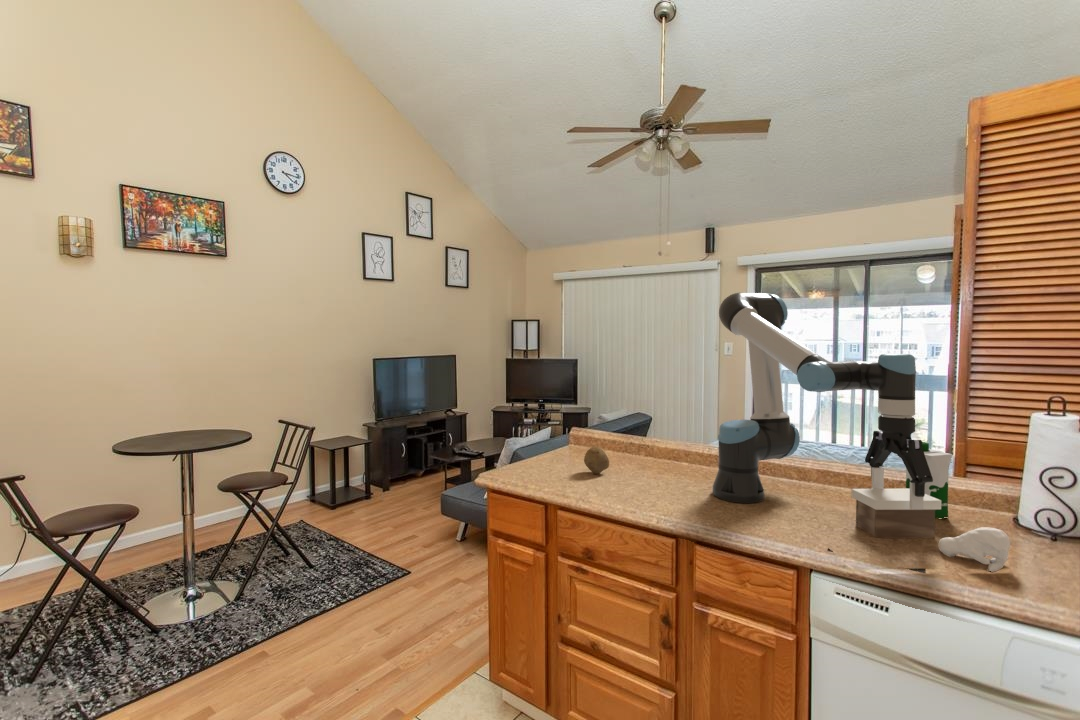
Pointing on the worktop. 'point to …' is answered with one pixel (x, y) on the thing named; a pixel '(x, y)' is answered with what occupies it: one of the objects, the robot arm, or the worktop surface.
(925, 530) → the storage box
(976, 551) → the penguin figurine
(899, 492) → the lid
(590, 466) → the brown oval lump
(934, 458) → the milk carton
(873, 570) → the worktop surface
